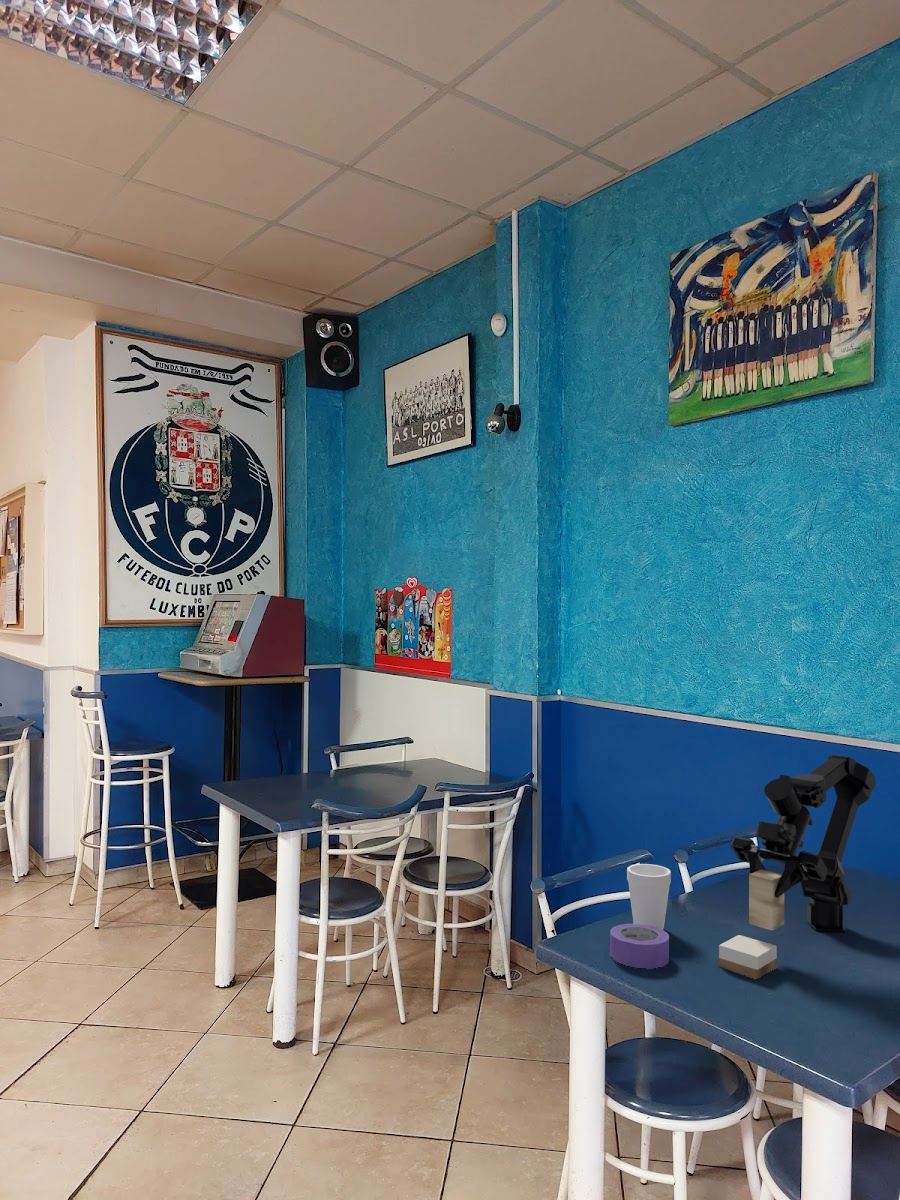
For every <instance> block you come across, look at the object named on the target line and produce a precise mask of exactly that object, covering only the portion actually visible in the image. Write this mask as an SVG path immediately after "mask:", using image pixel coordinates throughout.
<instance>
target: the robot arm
mask: <svg viewBox="0 0 900 1200" xmlns="http://www.w3.org/2000/svg"><path fill="white" fill-rule="evenodd" d="M876 783H877V780H876V777H875V774H873V772H872V771H871V769H869V768H868V767H866V766H865V765H863V764H861V763H859V762H857V760H856V759H855V758H854V757H851V756H848V755H840V754H833V755H832V754H831V755H829V756H828V759H826V761H824V762H823V763H822V764H820V765H818V766H817V768H815V769H813V770H812V771H811V772H810V773H808V774H798V775H795V776H792V777H791V776H790V775H786V774H779V777H778V778H775V779H772V780H771V781H769V782H768V783H766V785H765V786H764V789H763V791H764V793H763V794H764V796H765V797H766V799H767V800H768V802H769V804H770V806H771V807H772V809H773V811H774V813H775V814H777V815H778V818H777V821H776V823H772V822H766V821H761V820H758V823H757V824H758V825H757V829H756V833H755V837H756V838H760V839H762V840H761V844H762V845H763V846H765V848H761V847H759V846H758V845H756V843H755V842H754V840H753V839H751V838H746V837H741V836H736V837H734V838H733V839H732V841H731V843H730V847H731V849H732V850H733V852H734V854H735V856H736V857H737V859H738V861H739V860H740V861H741V862H743V863H747V864H748V865H749V874H751V873H754V872H757V871H759V870H765V871H766V867H765V865H764V864H763V861H764V859H765V860H768V861H772V862H777V863H781V864H784V869H783V873H782V876H781V878H780V881H779V883H778V885H777V887H776V891H775V897H777V898H778V897H780V896H781V895H782V894H783V893H784V894H785V893H786V892H787V891H789V890H791V888H793V887H794V886H796V885H797V884H798V883H800V885H801V889H802V895H803V897H805V898H809V902H808V903H807V904H806V905H807V915H806V916H807V918H806V920H807V922H808V923H809V925H810V926H811V927H812V928H813V929H814V931H816V932H817V931H818V932H837V933H839V932H843V933H845V932H847V929H846V928H845V927H844V906H848V905H849V904H850V903H849V902H850V901H851V900H850V899H851V893H852V892H851V890H850V888H849V886H848V884H847V882H846V881H845V879H846V875H845V874H846V873H845V871H844V867H843V865H842V860H843V857H844V854H845V851H846V847H847V844H848V842H849V841H848V840H849V839H850V835H851V831H852V828H853V825H854V822H855V819H856V816H857V815H856V814H857V811H858V808H859V807H860V806H862V805H863V804H864V803H866V802H867V801H868V800H870V797H871V794H872V792H873V790H875V787H876ZM832 787H833V789H834V791H835V792H834V793H835V795H836V799H835V802H834V806H833V808H832V812H831V814H830V817H829V820H828V824H827V827H826V830H825V833H824V836H823V839H822V841H821V845H820V848H819V851H818V852H817V853H814V852H811V851H810V852H809V851H805V850H801V851H799V853H798V856H797V852H798V850H799V848H803V846H804V842H803V841H802V840H803V837H804V835H805V832H806V830H807V827H808V825H809V826H813V818H812V815H811V813H810V811H809V810H808V808H813V809H819V808H821V806H822V805H823V804H824V803H825V802H826V800H827V792H828V790H830V789H832Z"/></svg>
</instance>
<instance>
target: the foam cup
mask: <svg viewBox="0 0 900 1200" xmlns="http://www.w3.org/2000/svg"><path fill="white" fill-rule="evenodd" d="M626 875H627V876H626V880H627V882H628V889H629V897H630V898H629V899H630V905H631V914H632V922H633V923H632V924H643V925H649V926H653V927H657V928H659V929H662V930H664V928H665V921H666V913H667V908H668V898H669V894H670V893H669V891H670V884H671V883H672V881H671V880H672V872H671V870H670V869H669V868H667V867H665V866H662V865H659V864H649V863H637V864H632V865H629V866H627V868H626Z"/></svg>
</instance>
